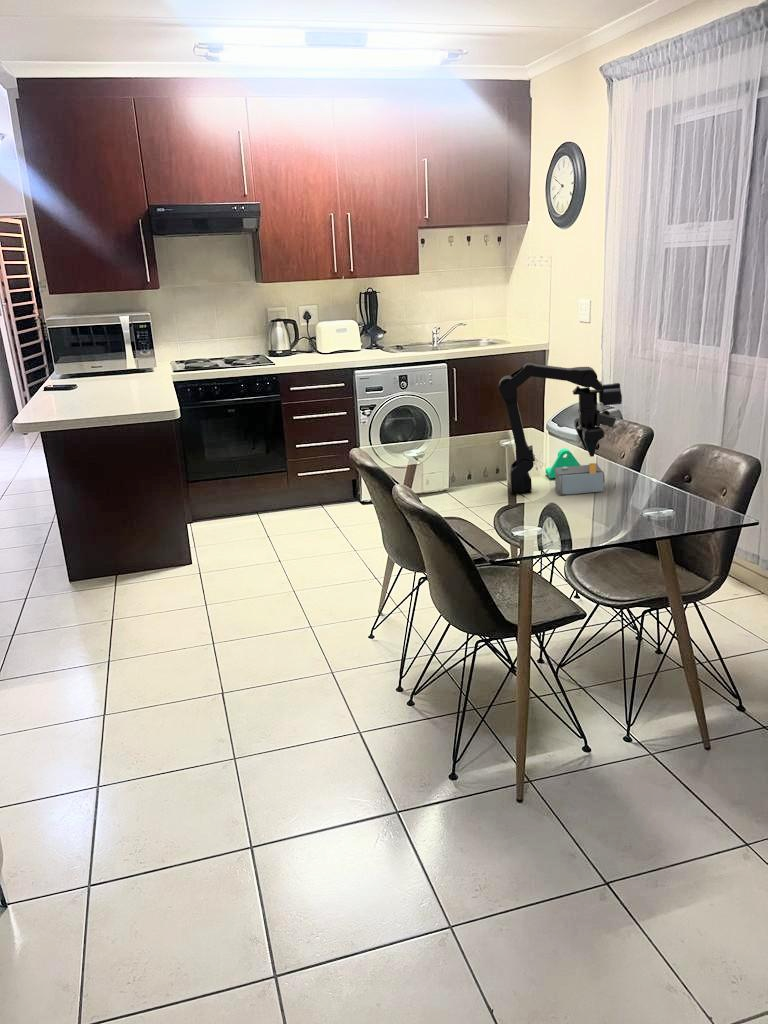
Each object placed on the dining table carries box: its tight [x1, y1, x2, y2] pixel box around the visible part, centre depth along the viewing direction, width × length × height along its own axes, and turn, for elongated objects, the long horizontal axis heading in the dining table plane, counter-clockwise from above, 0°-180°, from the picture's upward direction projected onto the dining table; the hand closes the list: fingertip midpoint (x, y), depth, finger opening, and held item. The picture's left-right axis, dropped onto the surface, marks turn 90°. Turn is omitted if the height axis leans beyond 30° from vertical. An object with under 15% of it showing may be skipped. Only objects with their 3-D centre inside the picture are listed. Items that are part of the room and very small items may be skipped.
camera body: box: [554, 463, 606, 493], centre depth 250 cm, size 15×8×8 cm, turn 86°
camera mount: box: [545, 448, 581, 479], centre depth 266 cm, size 12×8×10 cm, turn 91°
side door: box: [558, 462, 605, 496], centre depth 245 cm, size 14×1×10 cm, turn 86°
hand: (589, 453), depth 248 cm, fingers open, 8 cm apart
